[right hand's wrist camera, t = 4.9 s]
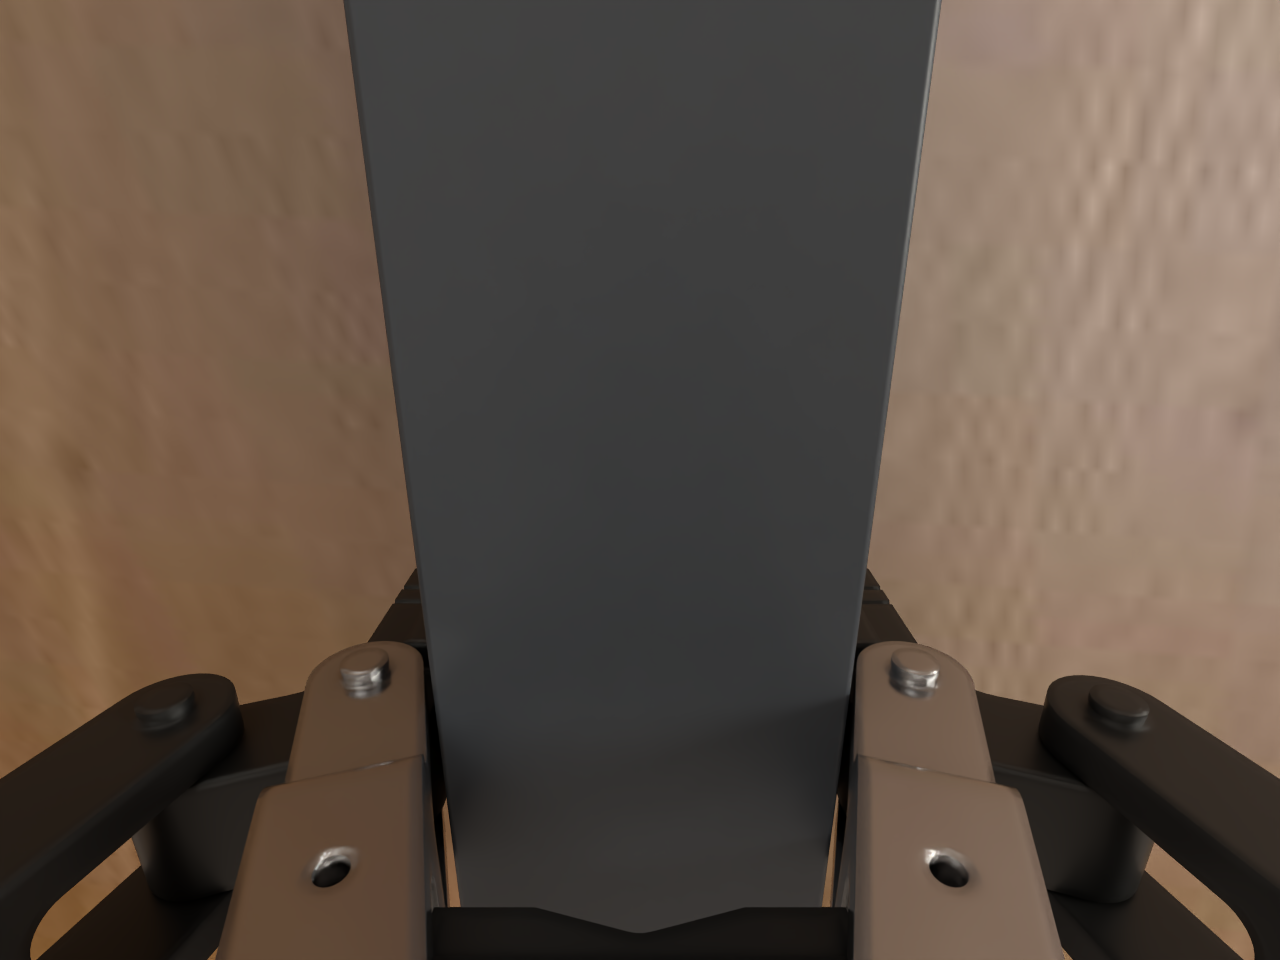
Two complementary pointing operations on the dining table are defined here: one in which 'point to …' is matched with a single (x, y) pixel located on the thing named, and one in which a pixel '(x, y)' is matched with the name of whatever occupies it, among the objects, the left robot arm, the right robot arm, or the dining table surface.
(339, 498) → the dining table surface
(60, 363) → the dining table surface
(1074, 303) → the dining table surface
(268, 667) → the dining table surface
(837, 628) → the bar
